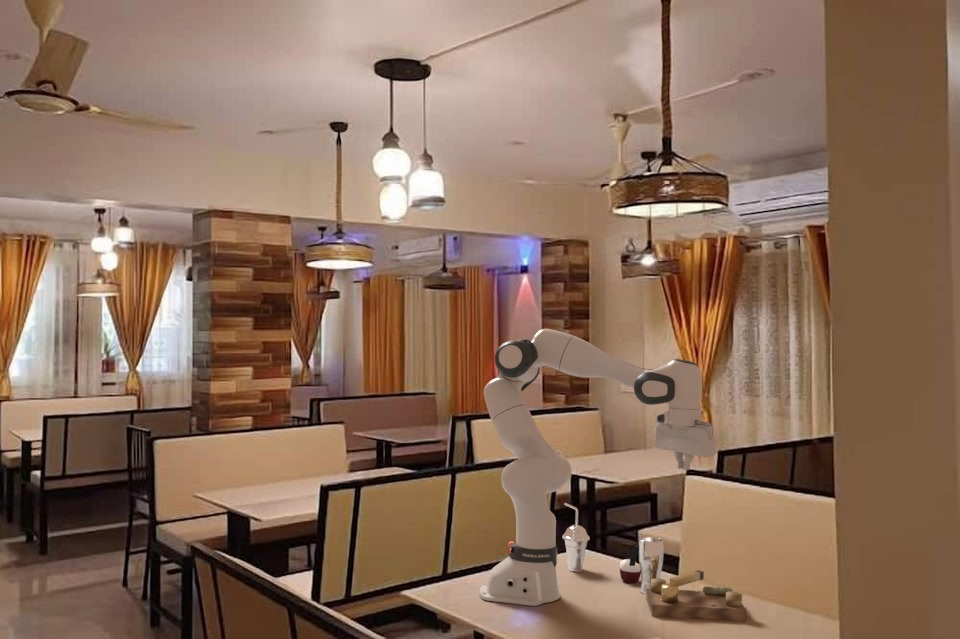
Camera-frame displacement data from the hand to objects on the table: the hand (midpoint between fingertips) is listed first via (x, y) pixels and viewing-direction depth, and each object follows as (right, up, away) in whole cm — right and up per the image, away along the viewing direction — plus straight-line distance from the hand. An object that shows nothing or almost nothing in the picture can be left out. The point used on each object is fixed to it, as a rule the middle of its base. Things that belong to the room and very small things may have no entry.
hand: (683, 469), depth 225 cm
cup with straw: (-26, -37, +32) cm, 56 cm away
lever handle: (-1, -34, -2) cm, 34 cm away
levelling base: (+2, -37, -4) cm, 37 cm away
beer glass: (-7, -37, +11) cm, 40 cm away
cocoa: (-11, -38, +20) cm, 44 cm away
